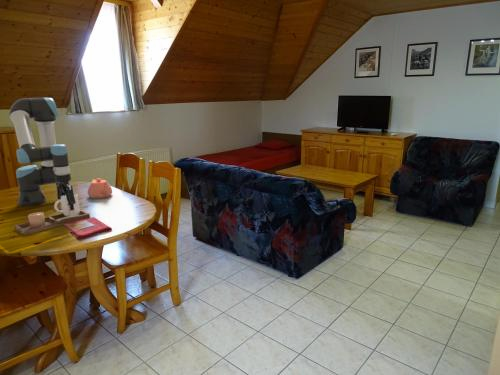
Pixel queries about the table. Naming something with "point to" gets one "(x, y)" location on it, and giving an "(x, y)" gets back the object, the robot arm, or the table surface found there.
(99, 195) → the teapot
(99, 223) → the dish towel
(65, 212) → the mug
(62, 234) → the table surface
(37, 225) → the peach rounded cylinder
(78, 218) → the caddy
